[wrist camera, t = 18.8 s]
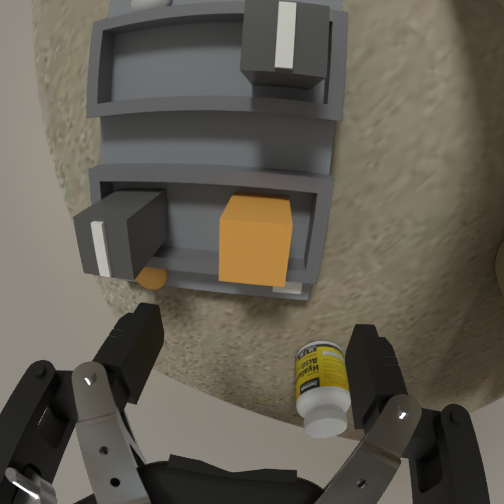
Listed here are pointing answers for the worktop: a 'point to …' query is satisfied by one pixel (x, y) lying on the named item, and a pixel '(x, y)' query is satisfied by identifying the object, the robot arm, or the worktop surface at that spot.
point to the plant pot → (500, 267)
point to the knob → (284, 43)
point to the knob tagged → (122, 232)
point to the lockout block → (255, 239)
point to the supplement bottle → (322, 389)
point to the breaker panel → (211, 134)
